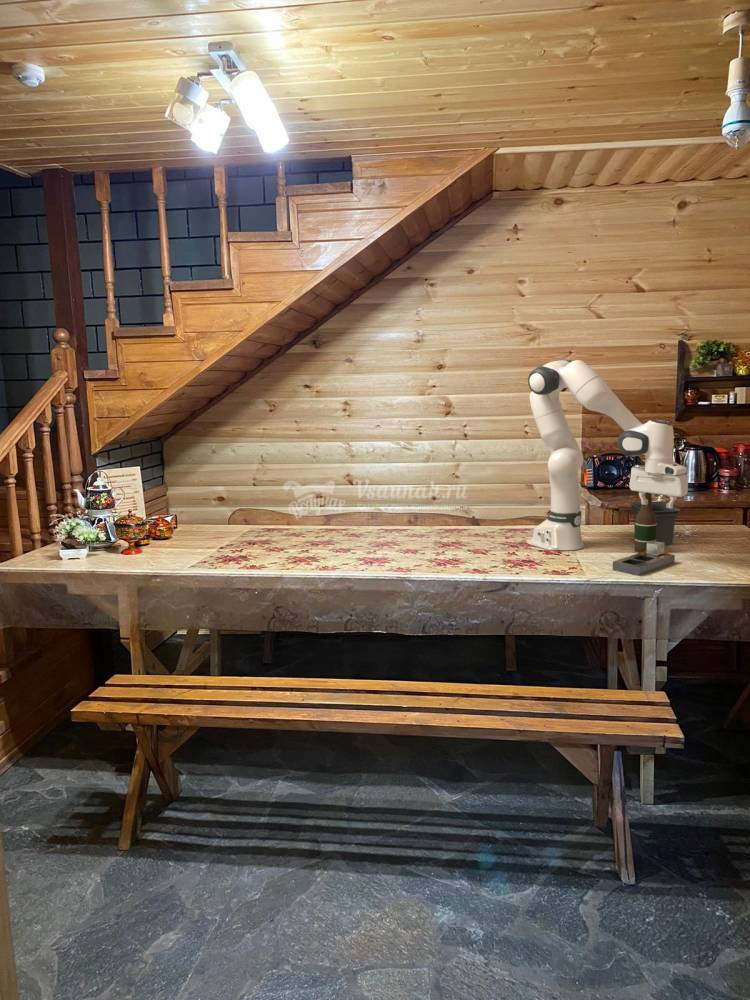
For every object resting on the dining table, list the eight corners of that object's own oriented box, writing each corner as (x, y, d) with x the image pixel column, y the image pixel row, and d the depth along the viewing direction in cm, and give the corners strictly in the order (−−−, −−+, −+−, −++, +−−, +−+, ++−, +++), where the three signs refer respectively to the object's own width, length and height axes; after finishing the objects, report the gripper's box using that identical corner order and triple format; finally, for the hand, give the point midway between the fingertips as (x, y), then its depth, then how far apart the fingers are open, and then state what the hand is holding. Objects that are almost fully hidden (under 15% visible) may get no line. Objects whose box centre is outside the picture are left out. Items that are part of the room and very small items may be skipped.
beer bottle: (648, 555, 270) (650, 491, 265) (629, 551, 276) (631, 488, 272) (660, 551, 274) (662, 488, 270) (642, 547, 280) (643, 486, 276)
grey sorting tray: (612, 571, 251) (612, 561, 250) (648, 559, 264) (648, 549, 264) (638, 577, 243) (639, 566, 243) (674, 564, 256) (674, 554, 256)
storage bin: (625, 536, 300) (626, 501, 298) (662, 534, 301) (664, 500, 298) (647, 548, 279) (648, 512, 277) (687, 546, 280) (688, 510, 277)
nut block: (646, 562, 259) (646, 543, 257) (652, 560, 261) (653, 540, 260) (657, 564, 255) (657, 545, 254) (663, 562, 258) (664, 542, 256)
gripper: (626, 465, 258) (625, 503, 260) (681, 470, 242) (679, 511, 245) (636, 463, 262) (635, 501, 264) (691, 468, 246) (689, 509, 248)
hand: (656, 506), depth 254 cm, fingers open, 8 cm apart
